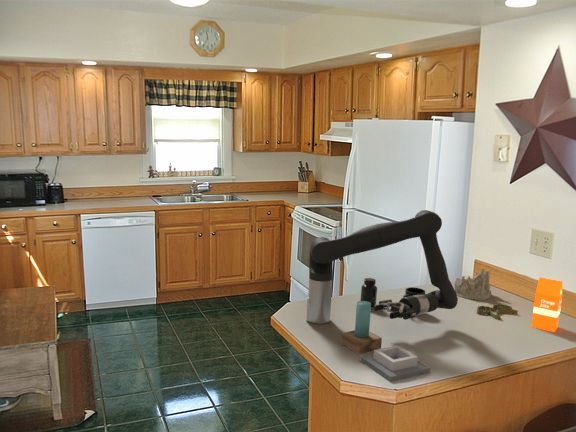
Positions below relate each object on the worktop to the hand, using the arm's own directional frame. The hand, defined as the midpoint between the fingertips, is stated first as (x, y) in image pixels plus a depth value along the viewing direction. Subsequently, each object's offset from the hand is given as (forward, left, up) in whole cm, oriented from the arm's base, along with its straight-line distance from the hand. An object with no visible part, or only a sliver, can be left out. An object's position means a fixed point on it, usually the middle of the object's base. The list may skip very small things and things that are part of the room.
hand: (382, 312), depth 200 cm
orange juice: (+67, +31, -11) cm, 75 cm away
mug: (+14, +35, -11) cm, 39 cm away
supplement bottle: (-4, +39, -11) cm, 40 cm away
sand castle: (+46, +67, -12) cm, 83 cm away
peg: (-7, -6, -7) cm, 12 cm away
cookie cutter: (+51, +44, -12) cm, 68 cm away
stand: (-7, -6, -11) cm, 14 cm away
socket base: (+4, -20, -11) cm, 23 cm away
